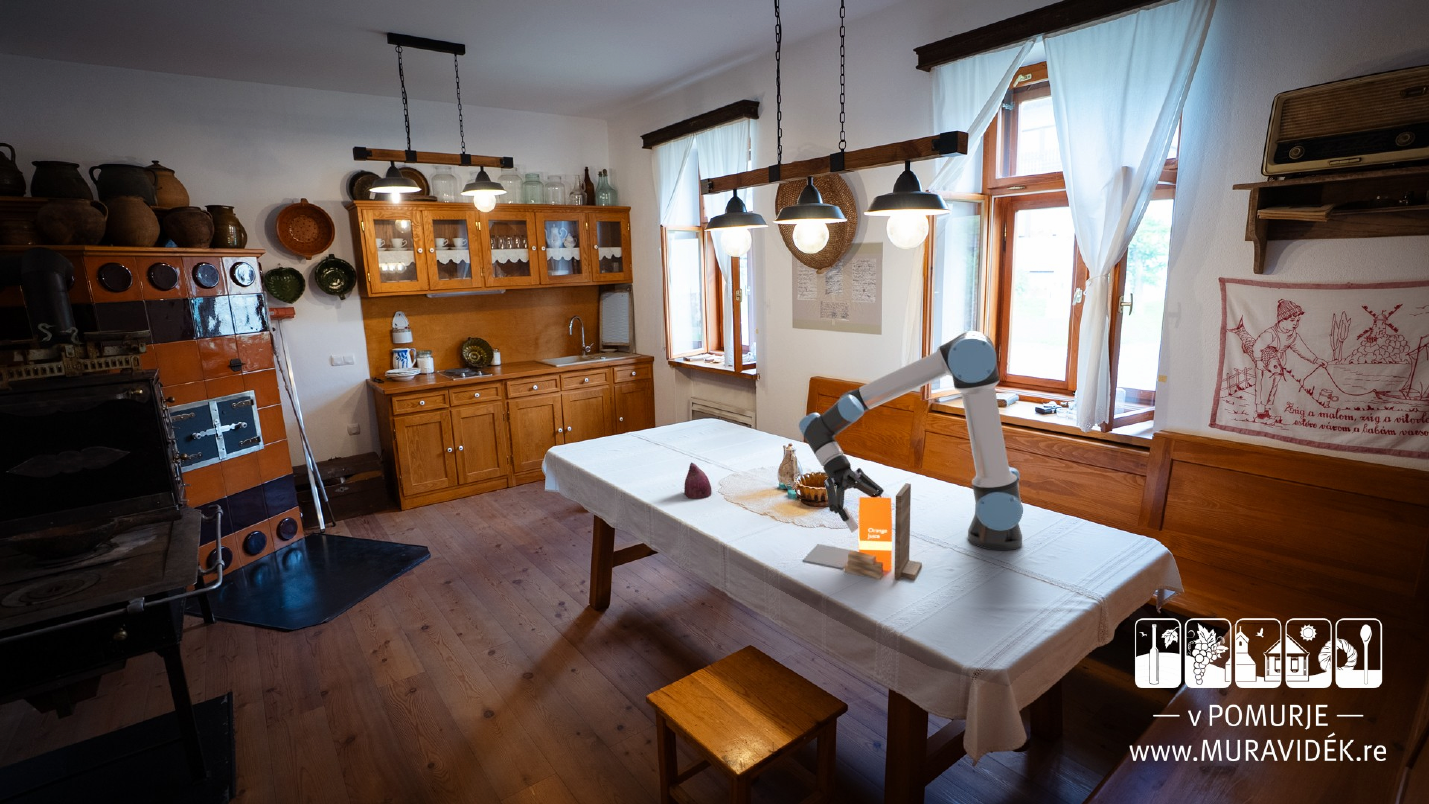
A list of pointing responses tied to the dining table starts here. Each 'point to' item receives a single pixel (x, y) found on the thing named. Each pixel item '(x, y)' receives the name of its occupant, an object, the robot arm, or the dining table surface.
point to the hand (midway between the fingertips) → (872, 523)
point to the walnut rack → (903, 566)
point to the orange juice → (876, 529)
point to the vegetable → (696, 483)
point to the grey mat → (828, 556)
